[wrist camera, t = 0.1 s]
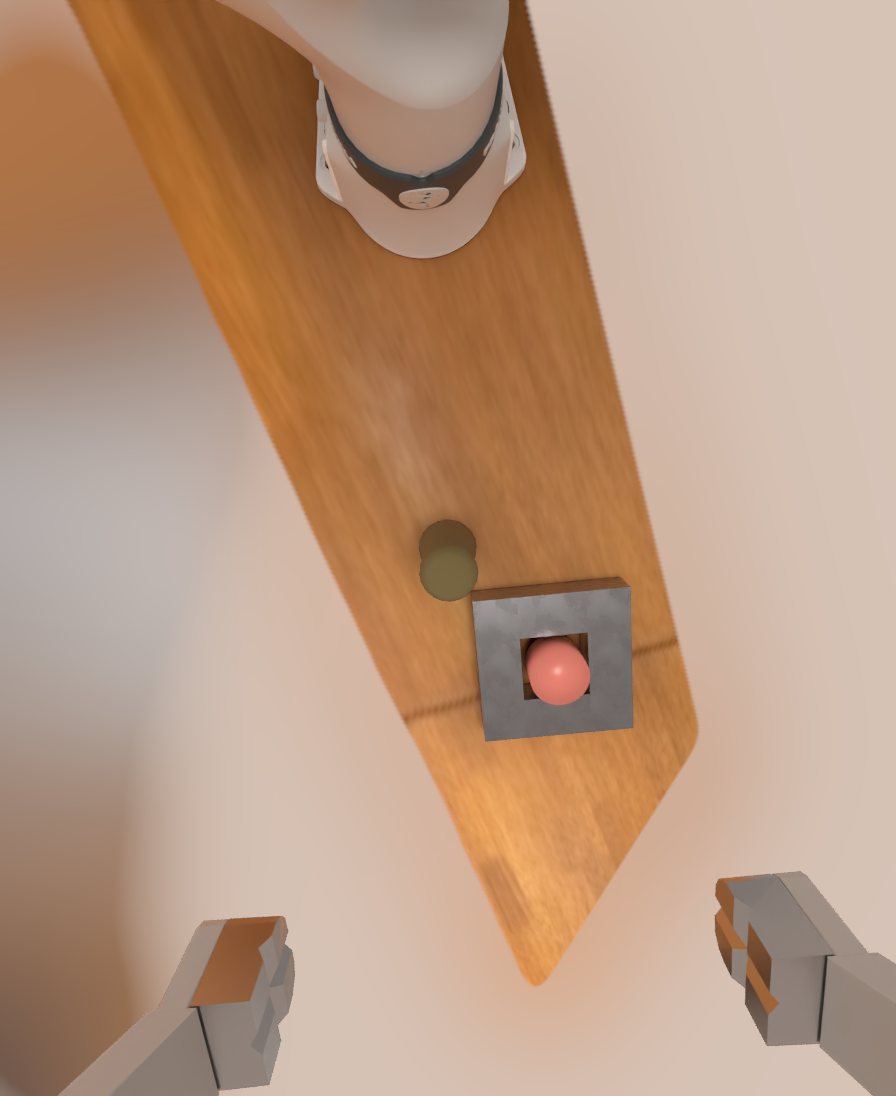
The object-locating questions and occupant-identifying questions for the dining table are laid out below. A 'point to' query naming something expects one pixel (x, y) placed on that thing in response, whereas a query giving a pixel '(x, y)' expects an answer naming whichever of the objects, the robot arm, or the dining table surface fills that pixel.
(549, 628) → the switch box
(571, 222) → the dining table surface
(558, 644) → the button
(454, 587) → the olive pepper mill
